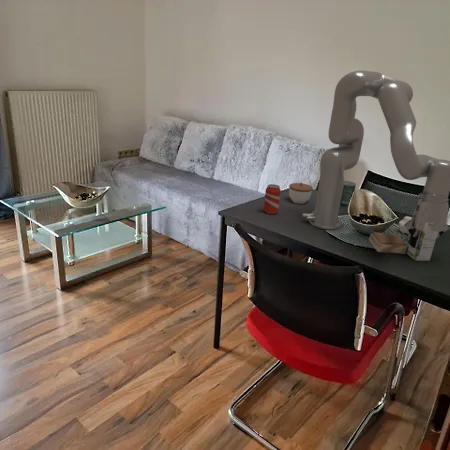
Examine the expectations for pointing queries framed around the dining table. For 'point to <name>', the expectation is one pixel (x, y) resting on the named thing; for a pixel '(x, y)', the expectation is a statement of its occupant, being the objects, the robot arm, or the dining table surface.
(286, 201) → the dining table surface
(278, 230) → the dining table surface
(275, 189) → the beverage can
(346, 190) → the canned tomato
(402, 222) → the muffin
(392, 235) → the base
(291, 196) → the lidded jar
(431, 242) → the syrup box
